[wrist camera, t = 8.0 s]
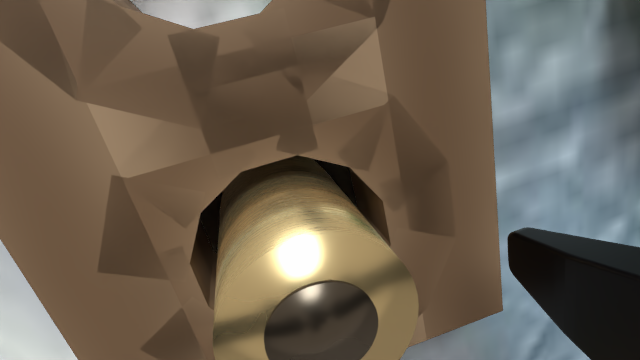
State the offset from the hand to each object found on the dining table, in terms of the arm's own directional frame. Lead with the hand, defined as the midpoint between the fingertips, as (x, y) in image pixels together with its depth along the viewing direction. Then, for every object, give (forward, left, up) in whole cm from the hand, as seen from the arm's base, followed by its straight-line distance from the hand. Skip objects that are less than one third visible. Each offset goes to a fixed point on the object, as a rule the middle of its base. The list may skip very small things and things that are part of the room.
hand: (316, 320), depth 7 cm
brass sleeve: (0, 0, -6) cm, 6 cm away
